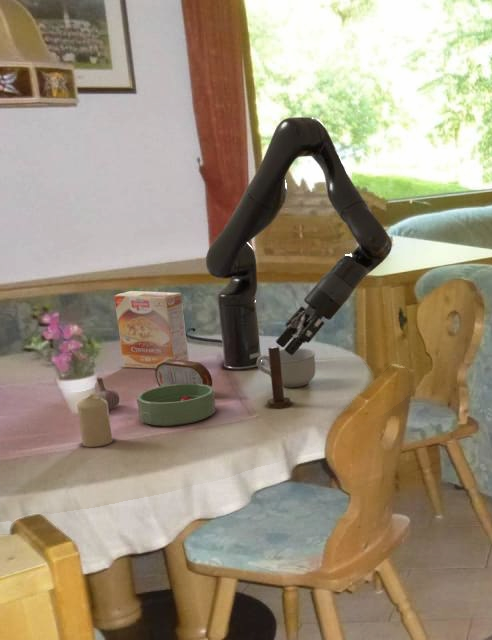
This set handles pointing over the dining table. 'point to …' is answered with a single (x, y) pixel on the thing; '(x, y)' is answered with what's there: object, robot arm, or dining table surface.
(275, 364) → the muddler
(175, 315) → the coffeecake box
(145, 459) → the dining table surface
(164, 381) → the tin
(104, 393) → the garlic bulb
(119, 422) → the dining table surface
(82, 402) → the candle
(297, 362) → the teacup
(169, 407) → the bowl
